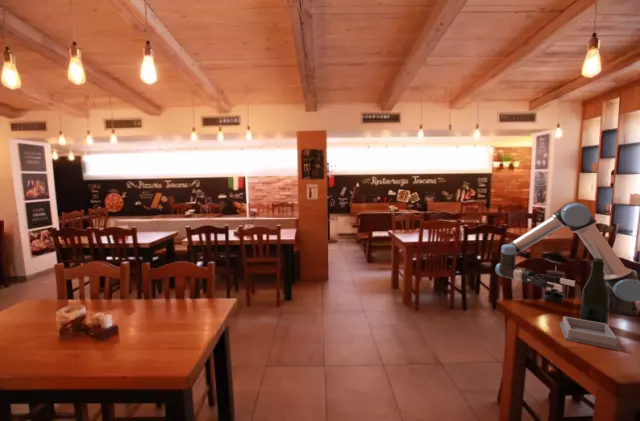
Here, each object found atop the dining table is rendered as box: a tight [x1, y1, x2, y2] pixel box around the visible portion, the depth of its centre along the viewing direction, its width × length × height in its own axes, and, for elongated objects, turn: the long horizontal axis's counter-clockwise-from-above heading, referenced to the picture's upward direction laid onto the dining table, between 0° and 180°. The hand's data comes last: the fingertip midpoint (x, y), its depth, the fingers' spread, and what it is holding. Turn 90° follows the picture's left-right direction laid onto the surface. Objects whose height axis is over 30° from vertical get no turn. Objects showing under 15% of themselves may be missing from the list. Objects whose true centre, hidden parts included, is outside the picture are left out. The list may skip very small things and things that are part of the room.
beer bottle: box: [579, 257, 610, 326], centre depth 152 cm, size 10×10×33 cm
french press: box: [543, 261, 570, 304], centre depth 184 cm, size 12×9×23 cm
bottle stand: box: [559, 316, 621, 351], centre depth 142 cm, size 18×18×4 cm
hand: (568, 286), depth 161 cm, fingers open, 13 cm apart
